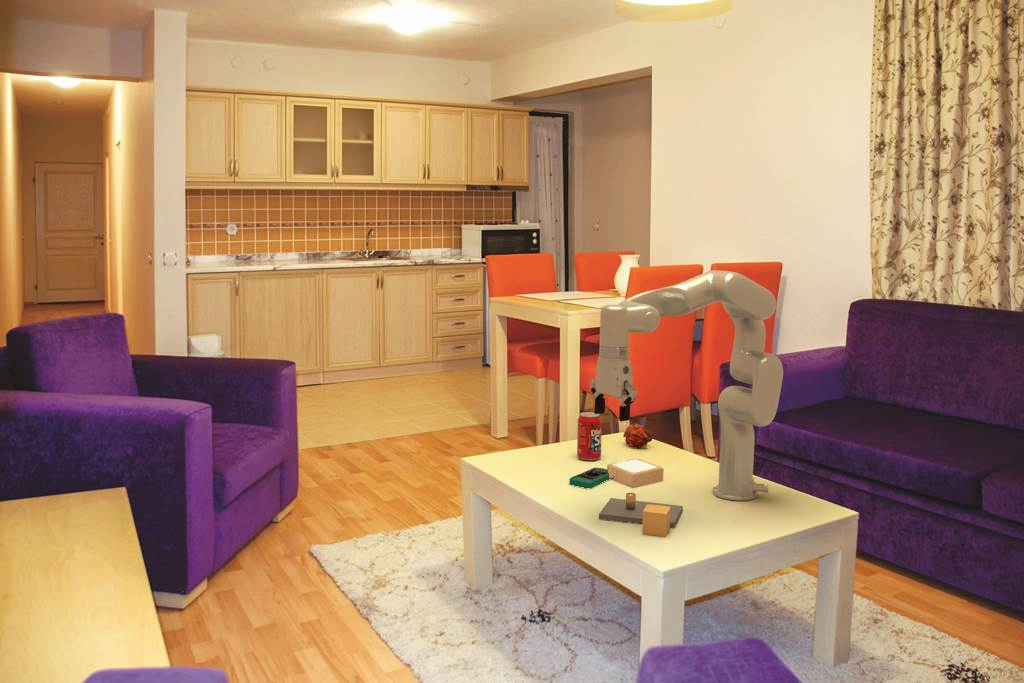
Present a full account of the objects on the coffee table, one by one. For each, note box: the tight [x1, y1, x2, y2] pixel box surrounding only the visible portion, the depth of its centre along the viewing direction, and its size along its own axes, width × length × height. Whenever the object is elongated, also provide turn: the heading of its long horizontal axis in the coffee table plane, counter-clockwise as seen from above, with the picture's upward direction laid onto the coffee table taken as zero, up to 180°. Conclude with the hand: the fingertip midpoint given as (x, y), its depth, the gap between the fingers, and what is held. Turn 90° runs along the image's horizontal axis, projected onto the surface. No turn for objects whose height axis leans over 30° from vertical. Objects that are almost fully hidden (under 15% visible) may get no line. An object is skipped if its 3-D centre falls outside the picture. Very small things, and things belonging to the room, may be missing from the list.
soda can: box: [576, 411, 603, 462], centre depth 297 cm, size 8×8×15 cm
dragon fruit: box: [623, 423, 653, 450], centre depth 313 cm, size 8×8×12 cm
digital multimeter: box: [568, 467, 610, 489], centre depth 274 cm, size 7×15×3 cm, turn 143°
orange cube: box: [641, 504, 671, 538], centre depth 231 cm, size 6×6×6 cm
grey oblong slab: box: [598, 497, 684, 529], centre depth 244 cm, size 20×14×2 cm
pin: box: [625, 492, 637, 510], centre depth 244 cm, size 3×3×4 cm
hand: (611, 416), depth 238 cm, fingers open, 9 cm apart
